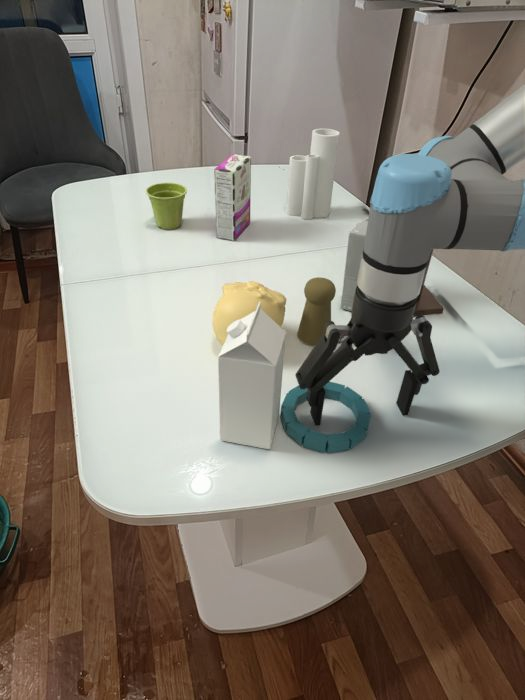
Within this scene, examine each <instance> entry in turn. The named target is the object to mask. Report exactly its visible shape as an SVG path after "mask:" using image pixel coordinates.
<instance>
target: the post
mask: <svg viewBox="0 0 525 700" xmlns="http://www.w3.org/2000/svg"><path fill="white" fill-rule="evenodd" d="M433 253H434V249H432V250H431V253H430V256H429V260H428V264H427V266H426V270H425V274H424V278H423V282H422V286H421V290H420V294H419V295H418V296H417V304H416V307H415V311H414V315H413V317H414V316H415V317H416V316H417V315H418V314H423V315H424V316H425V315H427V316H428V315H438V314H443V313H444V310H445V307H444V306H443V305H442V304H441V302H439V301H438V299H437V297H435V296H434V294H433V293H432V292H431V291H430V290H429V289H428V288H427V286H426V285H425V282H426V278H427V275H428V271H429V269H430V268H429V267H430V264H431V260H432V257H433Z"/></svg>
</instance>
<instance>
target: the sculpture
mask: <svg viewBox="0 0 525 700" xmlns="http://www.w3.org/2000/svg"><path fill="white" fill-rule="evenodd" d="M221 289H222V294H221V296H220V297H219V299H218V300H217V302H216V304H215V307H214V310H213V313H212V319H211V321H212V330H213V333H214V335H215V337H216V339H217V341H218V342H219V343H220V344H221V346H223V345H224V342H225V340H226V338H227V336H228V333H227V328H228V326H229V325H230V324H231V323H233V322H234V321H236V320H240V319H242V318H244V317H245V316H247V315H249V314H251V313H252V312H254V311H256V309H257V306H258V304H259V302H261V310H263V311H264V312H265V313H266V314H267V315H268V316H269V317H270V318H271V319H272V320H273V321H275V322H276V323H277V324H278V325H279V326H280V327H281V328H282V327H283V324H284V320H285V315H286V314H285V313H286V304H287V297H286V296H285V295H284V294H282V293H281V292H278V291H276V290H273V289H270V288H268V287H267V286H265V285H263V284H262V283H260V282H257V281H253V280H251V281H250V280H249V281H247V282H241V281H236V282H232V283H231V282H229V283H224V284H223V285H222V286H221Z"/></svg>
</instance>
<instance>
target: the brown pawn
mask: <svg viewBox="0 0 525 700" xmlns="http://www.w3.org/2000/svg"><path fill="white" fill-rule="evenodd" d="M336 289H337V288H336V286H335V284H334V282H333V281H332V280H330V279H328V278H326V277H319V276H317V277H313V278H311V279H309V280H307V282H306V283H305V286H304V289H303V293H304V297H305V303H304V307H303V311H302V314H301V318H300V322H299V326H298V329H297V333H296V335H297V338H298V340H299V341H300V342H302V343H303V344H305V345H308V346H313V347H315V345H316V344H317V342H318V341H319V340H320V338H321V337H322V335H323V332H324V328H325V325H326V323H327V322H328V321H332V301H333V300H334V299H335V297H336V293H337V290H336Z"/></svg>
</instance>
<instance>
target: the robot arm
mask: <svg viewBox="0 0 525 700" xmlns="http://www.w3.org/2000/svg"><path fill="white" fill-rule="evenodd" d="M524 160H525V83H524V84H523V85H522V86H520V87H519V88H517V89H516V90H515V91H514V92H512V93H511V94H510V95H508V96H507V97H506V98H505V99H503V100H502V101H501V102H500V103H498V104H497V105H495V106H494V107H493V108H492V109H490V110H489V111H488V112H486V113H485V114H483V116H481V117H480V118H478V119H476V121H475V122H473V123H472V124H471V125H470V126H468V127H466V128H465V129H464V130H463V131H461V132H460V133H458V134H457V135H456V136H453V135H441V136H437V137H435V138H432V139H431V140H429V141H427V142H426V143H425V144H424V145H423V146H422V147H421V149H420V150H419V151H418V153H402V154H401V153H400V154H395V155H392V156H390V157H388V158H386V159H385V160H383V161H382V163H381V164H380V166H379V168H378V171H377V175H376V178H375V182H374V186H373V191H372V194H371V197H370V199H369V200H370V201H369V204H370V206H369V211H368V217H367V219H368V225H367V231H366V237H365V244H364V249H363V253H362V257H361V263H360V269H359V274H358V280H357V287H356V290H355V296H354V301H353V306H352V311H351V317H350V319H349V321H348V323H347V324H343V325H342V324H335V321H333V320H331V321H328V322H327V323H326V325H325V328H324V332H323V335H322V337H321V338H320V340H319V341H318V342H317V344H316V345H315V346H313V348H312V349H311V351H310V352H309V354H308V356H307V357H306V358H305V360H304V361H303V362H302V364H301V365H300V367H299V368H298V370H297V371H296V372H295V379H296V382H297V384H298V386H299V387H300V389H306V388H307V395H306V398H307V400H306V401H307V403H308V405H309V407H310V410H309V414H310V416H311V419H312V421H313V424H314V426H315V427H316V426H317V427H318V426H321V422H322V415H323V409H324V404H325V398H326V397H325V389H324V386H325V385H326V384H327V383H328V382H331V380H333V379H334V378H335V377H336V376H337V375H338V374H339V373H340V372H341V371H343V370H344V369H345V368H346V367H348V365H350V364H351V363H352V362H356V361H358V360H359V359H360V358H361V357H363V355H364V356H365V357H366V356H372V355H377V354H379V355H387V354H388V353H389V352H391V351H394V352H395V353H396V354H397V355H398V357H399V358H401V361H403V362H404V364H405V365H406V366H407V367H408V369H406V370H404V373H403V377H402V381H401V385H400V388H399V392H398V395H397V397H396V398H397V399H396V403H395V404H396V405H397V407H398V409H399V411H400V413H401V414H402V416H403V417H404V416H409V414H410V410H411V407H412V405H413V401H414V398H415V396H418V395H419V394H420V392H421V389H422V386H423V385H426V384H428V383H429V381H430V378H429V376H433V377H435V376H438V375H439V374H440V371H441V370H440V368H439V367H440V366H439V365H438V360H437V357H436V353H435V349H434V346H433V342H432V338H431V336H432V330H433V325H432V323H431V322H430V321H429V320H428V318H427V317H426V316H425V315H423V314H418V315H415V318H414V316H413V315H414V311H415V307H416V304H417V296H418V295H419V294H420V290H421V286H422V282H423V278H424V274H425V270H426V266H427V264H428V260H429V256H430V253H431V250H432V249H433V250H471V251H472V250H473V251H500V252H502V253H503V252H507V251H516V250H517V251H518V250H519V251H520V250H525V178H522V179H517V180H516V179H515V180H513V179H510V178H507V177H506V176H505V175H504V174H506V173H508V171H510V170H512V169H513V168H514V167H515V166H517V165H519V164H520V163H521V162H523V161H524ZM411 331H412V333H413V334H414V336H415V338H416V341H417V342H416V343H417V346H418V347H419V351H420V355H421V358H422V361H423V363H420V364H419V362H418V361H417V360H416V358H415V357H414V356H413V355H412V354H411V352H410V351H409V349H408V348H407V347H406V346H405V344H404V343H403V342H402V341H403V340H404V339H405V338H406V337H407V336H408V335H409V334H410V333H411ZM338 345H339V347H338ZM353 345H354V346H353ZM354 347H355V349H354Z"/></svg>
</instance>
